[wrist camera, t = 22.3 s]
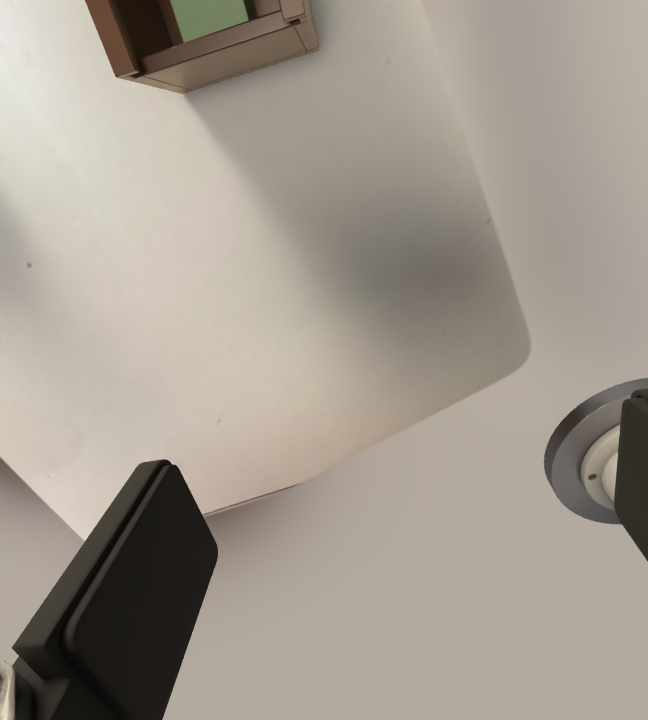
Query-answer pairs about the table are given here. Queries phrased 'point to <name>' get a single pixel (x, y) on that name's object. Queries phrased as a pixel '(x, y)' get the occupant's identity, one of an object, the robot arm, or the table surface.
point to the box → (198, 42)
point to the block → (210, 15)
